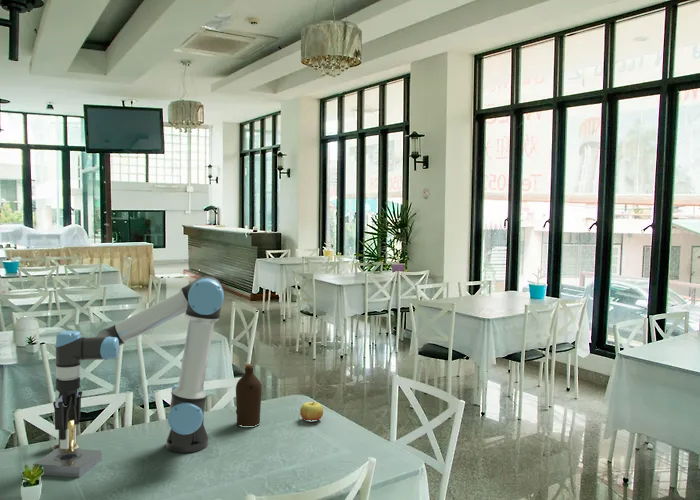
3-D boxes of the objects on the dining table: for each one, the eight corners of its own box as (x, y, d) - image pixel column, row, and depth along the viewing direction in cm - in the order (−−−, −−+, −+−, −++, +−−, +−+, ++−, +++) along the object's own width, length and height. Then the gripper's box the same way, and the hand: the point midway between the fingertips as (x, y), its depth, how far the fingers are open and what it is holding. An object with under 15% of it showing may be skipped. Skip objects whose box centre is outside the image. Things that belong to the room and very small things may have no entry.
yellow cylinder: (76, 448, 205) (76, 419, 204) (70, 452, 201) (70, 423, 200) (65, 447, 205) (65, 418, 205) (58, 451, 201) (58, 422, 201)
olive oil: (266, 423, 250) (267, 364, 248) (247, 430, 241) (248, 369, 240) (249, 418, 256) (250, 360, 255) (229, 424, 248) (230, 364, 247)
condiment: (79, 448, 220) (79, 416, 219) (53, 453, 215) (53, 420, 214) (75, 441, 226) (75, 410, 225) (50, 446, 221) (50, 414, 220)
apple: (327, 418, 258) (327, 400, 257) (316, 425, 249) (317, 406, 248) (306, 415, 262) (307, 397, 261) (295, 422, 253) (296, 403, 252)
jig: (101, 460, 210) (101, 450, 209) (79, 477, 196) (79, 467, 195) (58, 457, 211) (58, 447, 211) (33, 474, 197) (33, 463, 197)
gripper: (71, 370, 210) (71, 436, 212) (42, 383, 194) (42, 454, 195) (92, 371, 210) (91, 437, 211) (64, 384, 193) (64, 456, 194)
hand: (67, 445), depth 203 cm, fingers closed on yellow cylinder, 4 cm apart
